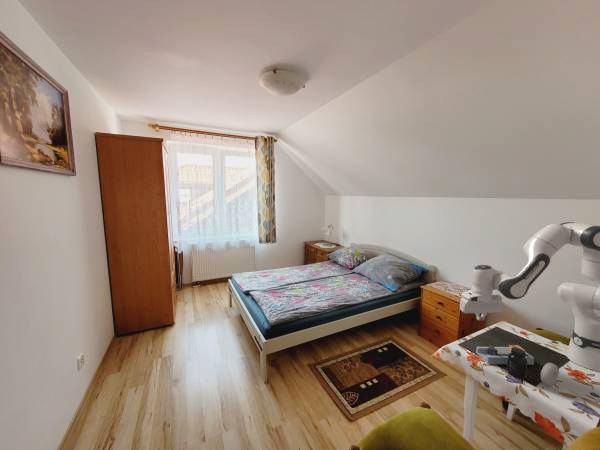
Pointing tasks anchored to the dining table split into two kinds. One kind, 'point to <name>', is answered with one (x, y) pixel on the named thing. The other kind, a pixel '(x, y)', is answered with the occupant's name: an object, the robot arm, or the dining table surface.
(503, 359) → the channel
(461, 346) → the dining table surface
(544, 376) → the donut
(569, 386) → the dining table surface
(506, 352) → the grey block
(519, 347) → the block
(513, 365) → the supplement bottle
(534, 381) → the dining table surface
